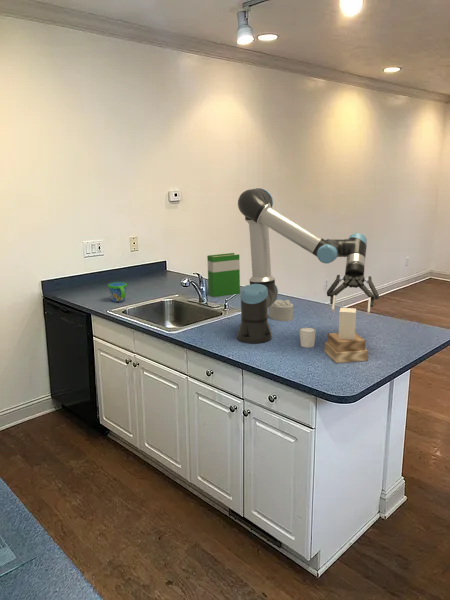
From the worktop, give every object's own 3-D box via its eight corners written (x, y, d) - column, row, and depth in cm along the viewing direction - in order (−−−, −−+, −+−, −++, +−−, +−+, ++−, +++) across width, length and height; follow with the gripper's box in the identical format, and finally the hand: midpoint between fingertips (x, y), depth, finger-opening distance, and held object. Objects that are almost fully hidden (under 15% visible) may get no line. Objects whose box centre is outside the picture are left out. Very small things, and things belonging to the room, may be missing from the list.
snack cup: (131, 302, 287) (130, 285, 284) (113, 305, 282) (112, 287, 280) (123, 297, 300) (122, 280, 298) (106, 299, 296) (104, 282, 293)
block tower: (335, 363, 191) (336, 343, 189) (324, 351, 204) (324, 332, 202) (367, 360, 193) (368, 341, 191) (354, 349, 205) (355, 330, 203)
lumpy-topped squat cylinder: (281, 313, 259) (281, 297, 257) (298, 319, 249) (298, 302, 247) (265, 316, 254) (265, 300, 252) (281, 322, 243) (281, 305, 241)
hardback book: (234, 291, 309) (233, 252, 303) (239, 293, 303) (239, 254, 297) (208, 294, 301) (207, 255, 295) (213, 297, 295) (212, 257, 289)
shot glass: (304, 341, 216) (304, 326, 214) (318, 344, 212) (318, 329, 210) (296, 345, 211) (296, 330, 209) (310, 349, 206) (310, 333, 205)
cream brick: (338, 338, 194) (339, 311, 192) (339, 333, 200) (340, 307, 197) (354, 339, 193) (355, 312, 190) (355, 335, 198) (356, 308, 195)
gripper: (386, 273, 204) (383, 319, 195) (325, 270, 212) (319, 314, 202) (387, 263, 198) (384, 309, 188) (324, 260, 206) (318, 305, 196)
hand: (350, 312), depth 195 cm, fingers open, 13 cm apart
